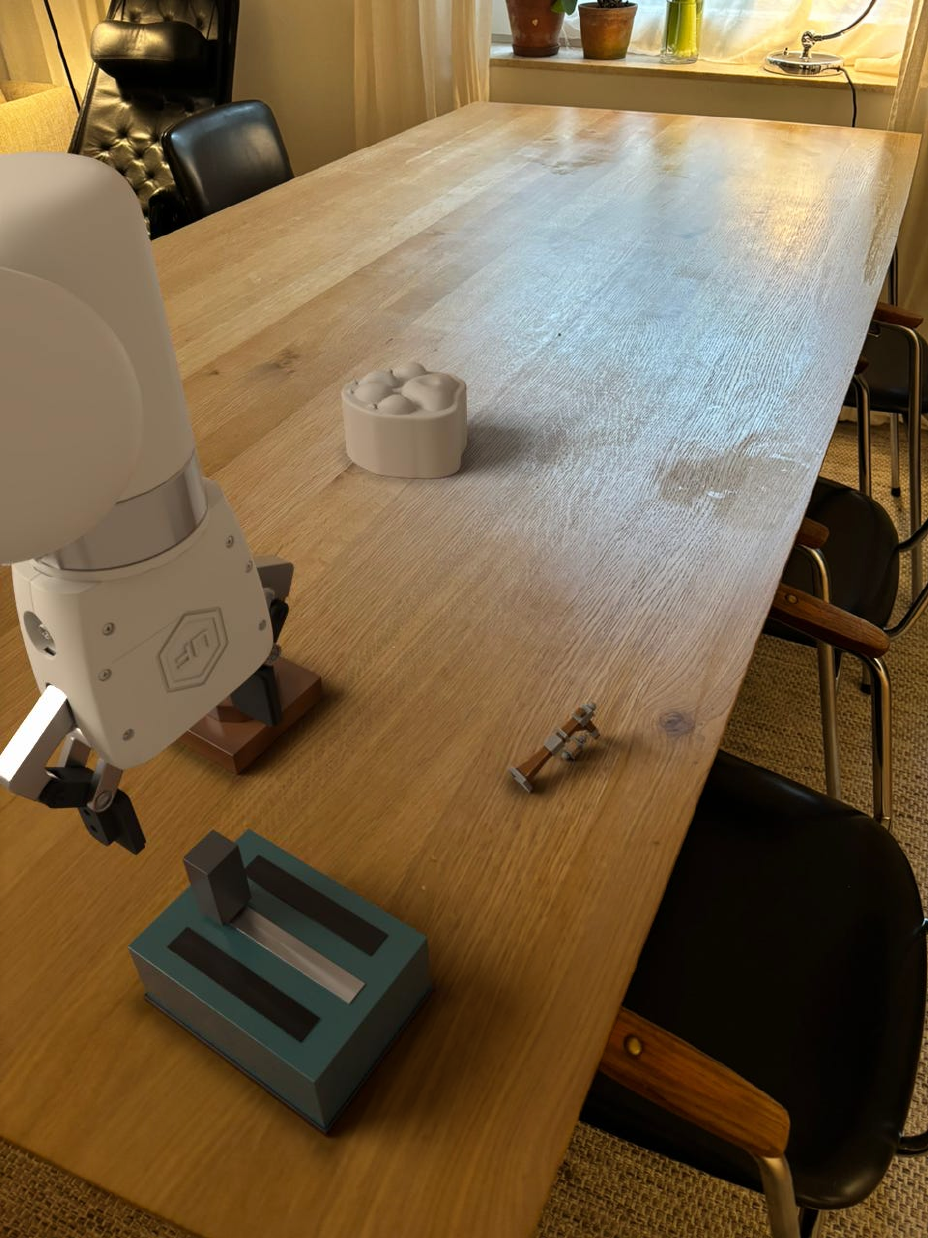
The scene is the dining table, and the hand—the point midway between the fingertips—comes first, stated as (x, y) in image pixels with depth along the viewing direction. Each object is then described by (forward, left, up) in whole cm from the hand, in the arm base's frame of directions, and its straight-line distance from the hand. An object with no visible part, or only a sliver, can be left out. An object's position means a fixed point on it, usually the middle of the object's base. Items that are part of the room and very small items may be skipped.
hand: (193, 772), depth 51 cm
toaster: (0, -4, -18) cm, 18 cm away
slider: (0, 0, -11) cm, 11 cm away
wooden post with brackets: (+25, -8, -18) cm, 32 cm away
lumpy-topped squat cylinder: (+55, +28, -18) cm, 64 cm away
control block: (+16, +15, -18) cm, 28 cm away
